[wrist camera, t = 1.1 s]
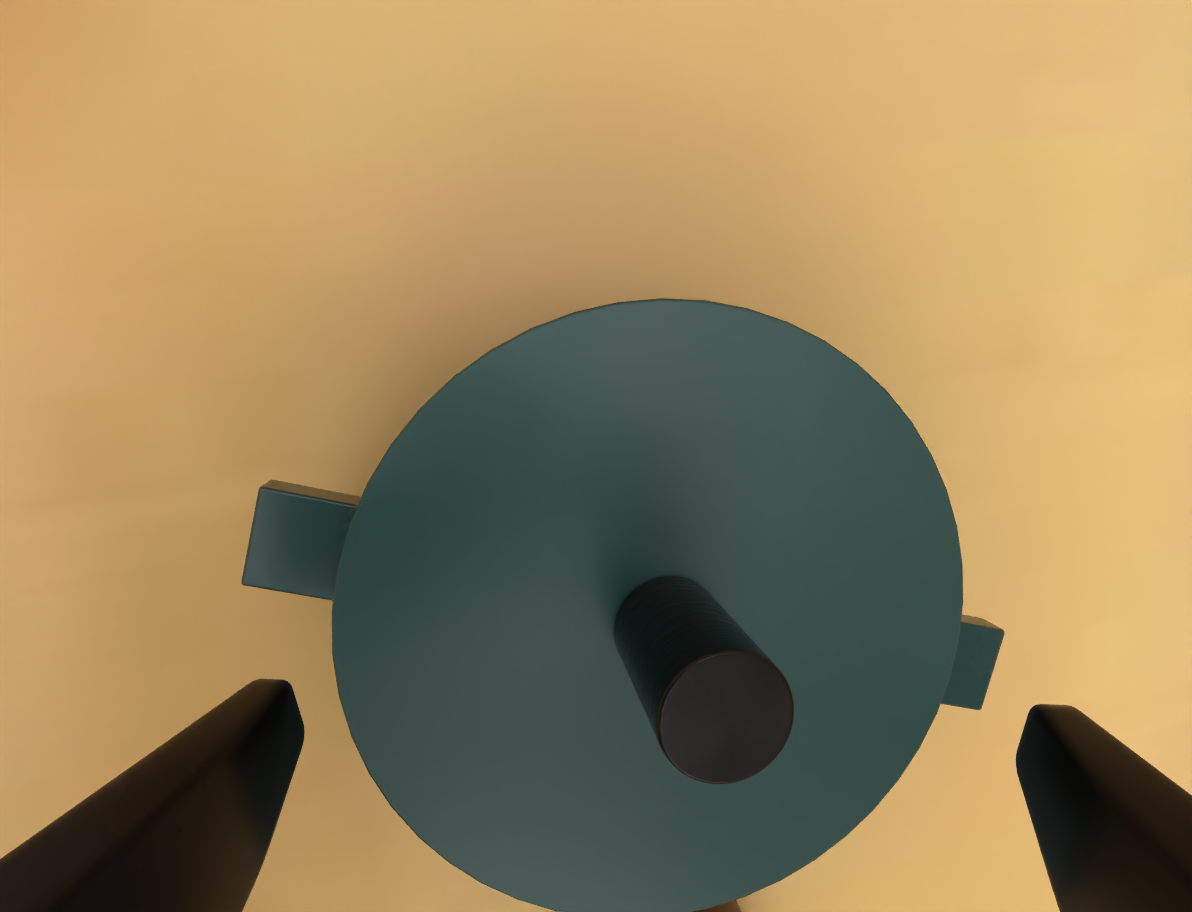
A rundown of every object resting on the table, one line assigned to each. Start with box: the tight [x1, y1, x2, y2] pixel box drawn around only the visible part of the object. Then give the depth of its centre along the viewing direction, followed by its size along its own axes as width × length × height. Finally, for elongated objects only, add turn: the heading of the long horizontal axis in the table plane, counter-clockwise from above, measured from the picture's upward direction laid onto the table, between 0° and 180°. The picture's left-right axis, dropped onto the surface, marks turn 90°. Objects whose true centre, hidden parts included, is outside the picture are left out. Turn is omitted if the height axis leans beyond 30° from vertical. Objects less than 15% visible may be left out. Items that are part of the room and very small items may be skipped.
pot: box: [241, 480, 1004, 710], centre depth 21 cm, size 14×20×6 cm
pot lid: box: [332, 298, 963, 912], centre depth 16 cm, size 15×15×6 cm
